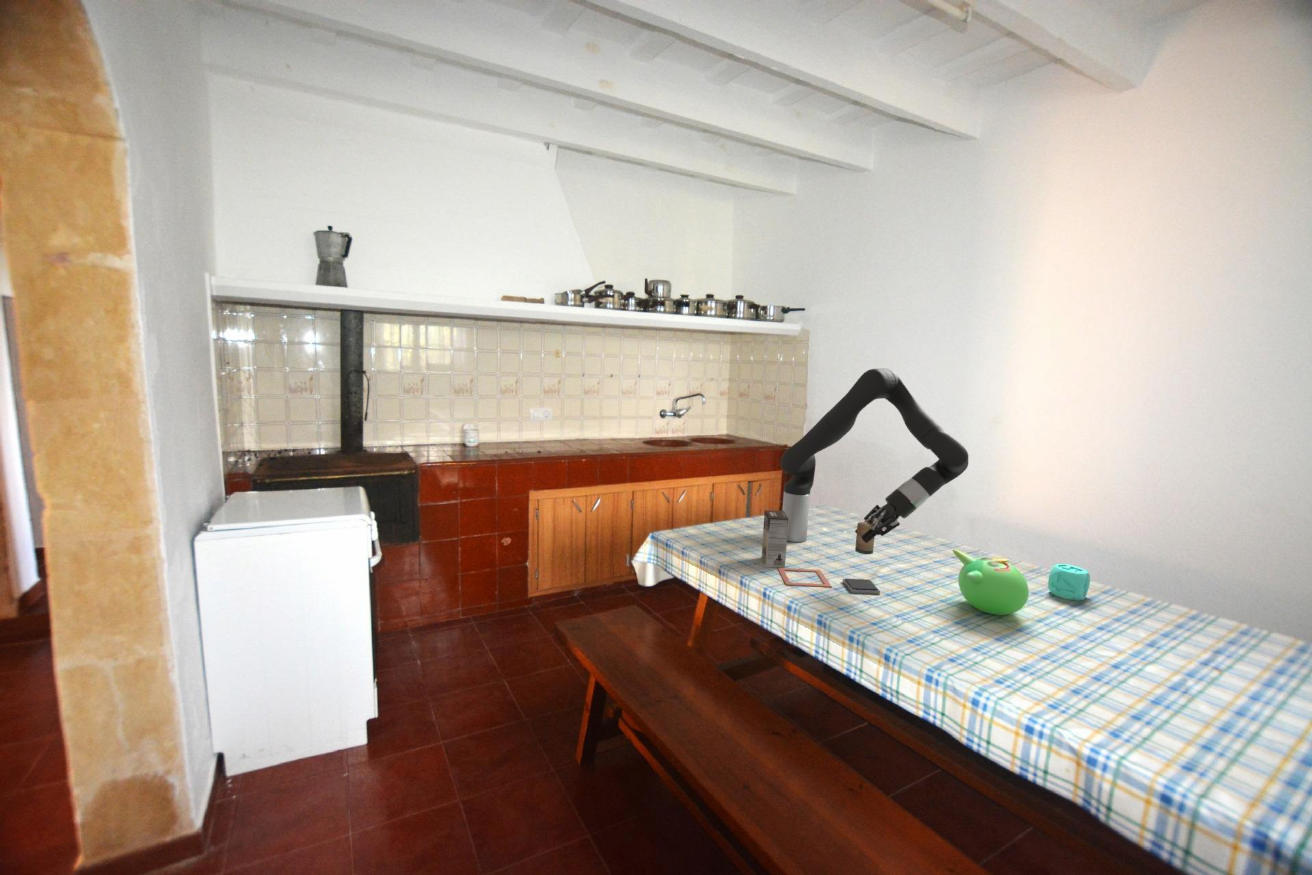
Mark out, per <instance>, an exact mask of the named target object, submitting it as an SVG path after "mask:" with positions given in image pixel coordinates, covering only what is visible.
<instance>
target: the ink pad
mask: <svg viewBox="0 0 1312 875" xmlns="http://www.w3.org/2000/svg"><path fill="white" fill-rule="evenodd" d="M842 583H843V585H844V586H845V587H846V589H847V590H848V591H849V593H850V594H863V595H864V594H865V595H880V594H881V590H880V589H879V588H878V587H877V586H876V584H874V582H872V580H871V579H862V578H861V579H860V578H842Z"/></svg>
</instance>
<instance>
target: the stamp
mask: <svg viewBox="0 0 1312 875" xmlns="http://www.w3.org/2000/svg"><path fill="white" fill-rule="evenodd" d="M873 523H874V522H873ZM873 523H869V522H864V521H859V522H857V525H856V526H857V528H856V529H857V534H856V537H855V538H856V539H855V547H854V548H855V549H854V550H855V552H856V553H858V554H862V555H872V554H874V545H875V537H874V538H872V539H871V540H870V541H869V542H867V543H865V542H864V541H863V540H862V538H861V536H862V535H864V534H865V533H866V532H867V531H869V530H870V529H872V527H873V526H874V525H875V524H873Z"/></svg>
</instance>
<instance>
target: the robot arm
mask: <svg viewBox="0 0 1312 875" xmlns="http://www.w3.org/2000/svg"><path fill="white" fill-rule="evenodd" d="M878 399H879V400H880V399H885V400H886V401H888V402H889V403H890V404H892V406H894V407H895V408H896V409H897V411H898V413H899V414H900V415H901V418H902V420H903V423H904V425H905V426H906V428H907V430H908V431H909V433H910V434H911V435H912V436H913V437H914V438H915V440H917V441H918V442H919V443H920V444H921V446H923V448H925V449H927V450H930V451H931V452H932V453H933V454H934V455H935V457H936V458H938V460H937V461H936V462H934V463H932V465H929V466H925V467H923V468H921V469H920V470H919V471H917V472H916V473H915V474H914V475H913V476H912V477H910V478H909V479H908V480H906V481H904V482H903V483H901V485H899V486H898V487H897V488H896V489H895V490H893V491H892V492H891V493H889V495H887V496H886V497H885V499H884V500H885V502H886V504H884V505H882V506H881V507H880V506H879V505H878V504H876V505H875V506H874V507H873V508H872V509H871V510H870V511H869V512H868V513H867V514H866V515H865V517H863V520H864V521H863V522H869V523H873V524H875V525H874V526H873V527H872V529H870V530H869V531H867V532H866V533H865V534H864V535H862V536H861V538H862V540H863V541H864V542H865V543H867V542H869V541H870V540H871V539H872V538H874V539H875V537H876V536H879V535H880V536H881V537H883V536H885V535H887V534H888V533H890V532H891V531H893V530H895V529H896V528H898V527H899V526H900V524H901V523H900V522H899V521H898V519H899V518H900V517H901V518H902V519H906V518H908V517H909V516H911V514H912V513H914V512H915V511H916V510H917V509H919V507H921V506H922V505H924V503H925V502H926V501H927V500H928V499H930V498H931V497H932V496H933V495H934V494H935V493H936V492H937V491H939V490H940V489H941V488H942V487H943V486H945V485H946V484H948V483H950V482H952V481H953V480H955V479H956V478H958V477H959V476H961V475H962V474H963V473H964V472H965V471H966V469H968V466H969V453H968V451H967V449H966V447H965V446H964V445H962V443H961V442H960V441H958V440H957V439H955V438H954V437H953V436H951V435H950V434H949V433H947V432H946V431H945V429H943V427H941V426H940V425H939V424H938V423H937V421H935V419H934V418H932V417H931V415H930V414H929V413H928V412H927V411H926V410H924V408H923V407H922V405H920V404H919V402H918V401H917V400H916V399H915V397H914V396H913V394H912V393H911V392H910V390H909V389H908V387H907V386H906V385H905V383H904V382H903V380H902V379H901V378H900V376H899V375H898V373H896V372H895V371H894V370H893V369H889V368H871V369H868V370H866V371H865V372H863V374H862V375H860V377H858V379H857V381H856V382H854V384H853V385H852V387H851V388H850V389H849V390H848V391H847V393H846V394H845V395H844V396H843V397H842V398H841V399H840V400H839V401H837V403H836V404H835V405H834V406H833V407H832V408H831V409H829V411H827V413H825V414H824V416H822V417H821V418H820V419H819V420H818V421H817V423H816V424H815V425H813V427H811V429H810V430H808V431H807V433H806V434H805V435H804V436H803V437H801V438H800V439H799V440H798V441H796V442H795V443H794V444H793V445H792V446H790V447H789V448H788V449H786V450H785V451H784V453H782V456H781V458H780V467H781V469H782V471H783V472H784V473H785V474H788V475H792V477H791V478H790V479H789V480H788V481H787V482H785V484H784V486H783V487H784V488H783V496H782V498H783V500H782V501H783V502H782V511H784V512H785V514H786V515H787V517H788V518H789V522H788V535H787V542H792V543H802V542H803V543H804V542H806V541H807V536H808V529H809V528H808V527H809V526H808V525H809V515H810V514H809V513H810V501H811V490H812V488H813V486H814V479H815V474H816V473H815V472H816V463H817V462H816V461H817V460H816V454H817V453H819V452H822V450H825V449H827V448H829V447H831V446H833V445H835V444H836V443H838V442H839V441H840V440H841V439H842V438H844V437H845V436H846V435H847V434H849V432H850V431H851V430H852V428H853V427H854V425H855V423H856V421H857V417H858V415H859V414H860V412H862V410H864V409H865V408H866V407H867V406H869V404H871V403H872V402H874V401H875V400H878ZM854 532H855V534H856V535H857V528H856V529H855V530H854Z"/></svg>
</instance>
